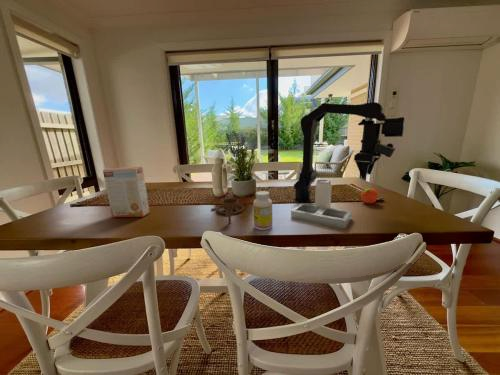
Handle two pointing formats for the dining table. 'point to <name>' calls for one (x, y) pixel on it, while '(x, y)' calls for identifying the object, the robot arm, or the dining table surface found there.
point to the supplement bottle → (262, 211)
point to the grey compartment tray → (322, 215)
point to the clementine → (369, 195)
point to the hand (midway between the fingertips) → (366, 176)
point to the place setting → (229, 208)
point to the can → (323, 193)
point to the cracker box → (126, 191)
